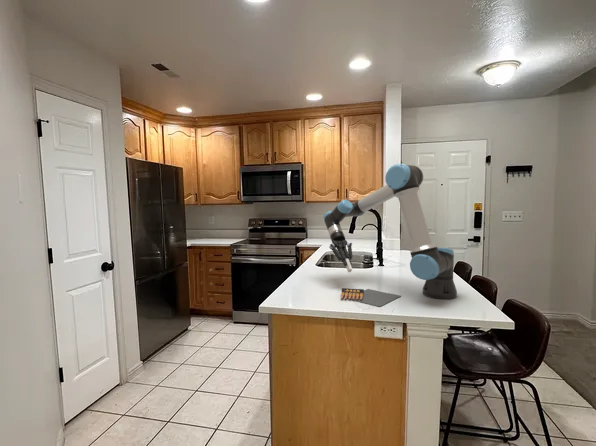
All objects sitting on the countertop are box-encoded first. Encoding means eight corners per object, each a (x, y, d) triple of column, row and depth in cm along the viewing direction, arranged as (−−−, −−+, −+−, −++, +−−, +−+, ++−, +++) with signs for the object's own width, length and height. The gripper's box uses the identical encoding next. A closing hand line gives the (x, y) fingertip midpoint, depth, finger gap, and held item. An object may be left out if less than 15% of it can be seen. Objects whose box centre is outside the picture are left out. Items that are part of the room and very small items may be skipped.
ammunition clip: (363, 289, 153) (363, 297, 141) (363, 292, 153) (363, 301, 142) (342, 288, 155) (339, 296, 144) (342, 291, 156) (339, 300, 144)
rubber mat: (400, 296, 149) (401, 295, 149) (380, 307, 134) (380, 306, 134) (367, 289, 161) (367, 288, 161) (345, 298, 147) (345, 297, 147)
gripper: (345, 238, 177) (359, 273, 163) (323, 239, 174) (336, 275, 159) (349, 229, 172) (364, 265, 157) (327, 231, 168) (340, 267, 153)
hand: (350, 270), depth 158 cm, fingers closed
